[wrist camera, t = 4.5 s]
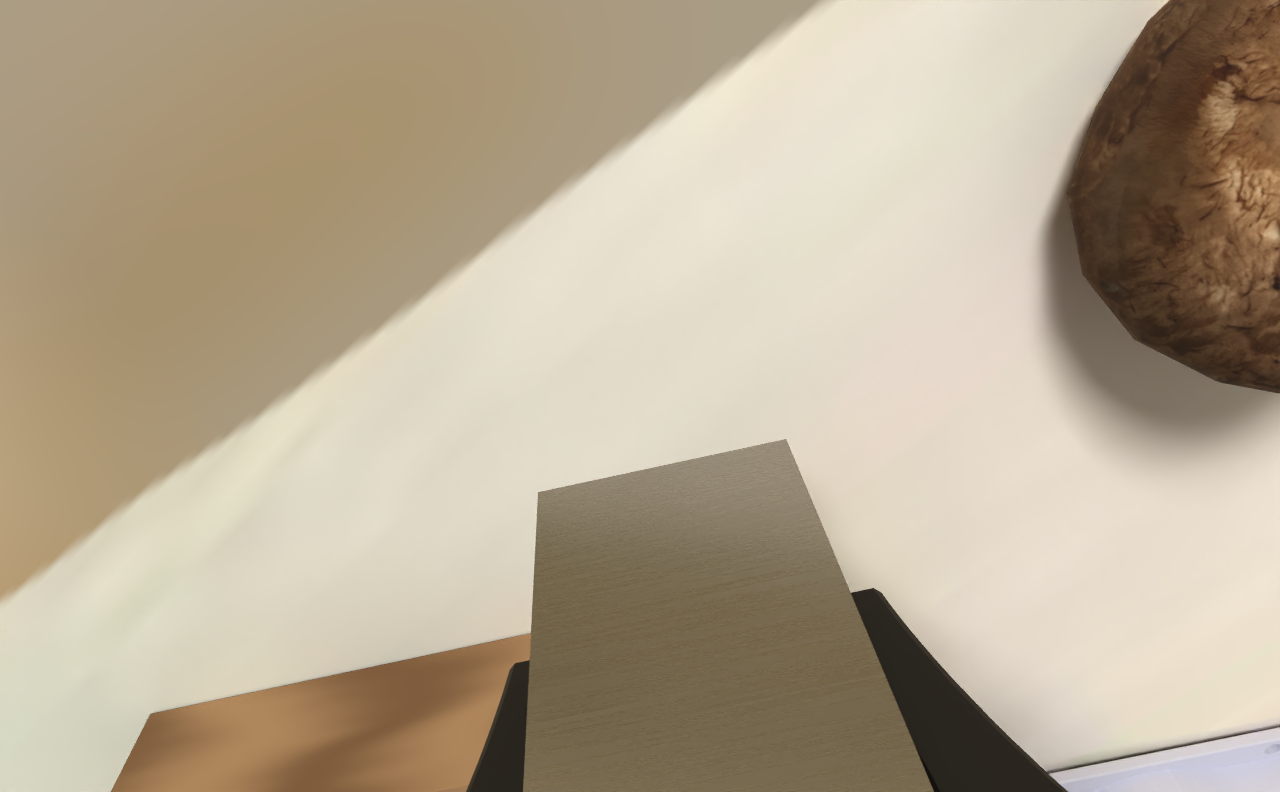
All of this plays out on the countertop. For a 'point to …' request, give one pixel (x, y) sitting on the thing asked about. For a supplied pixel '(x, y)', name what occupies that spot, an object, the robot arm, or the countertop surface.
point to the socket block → (335, 730)
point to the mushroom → (1191, 190)
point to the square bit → (703, 640)
